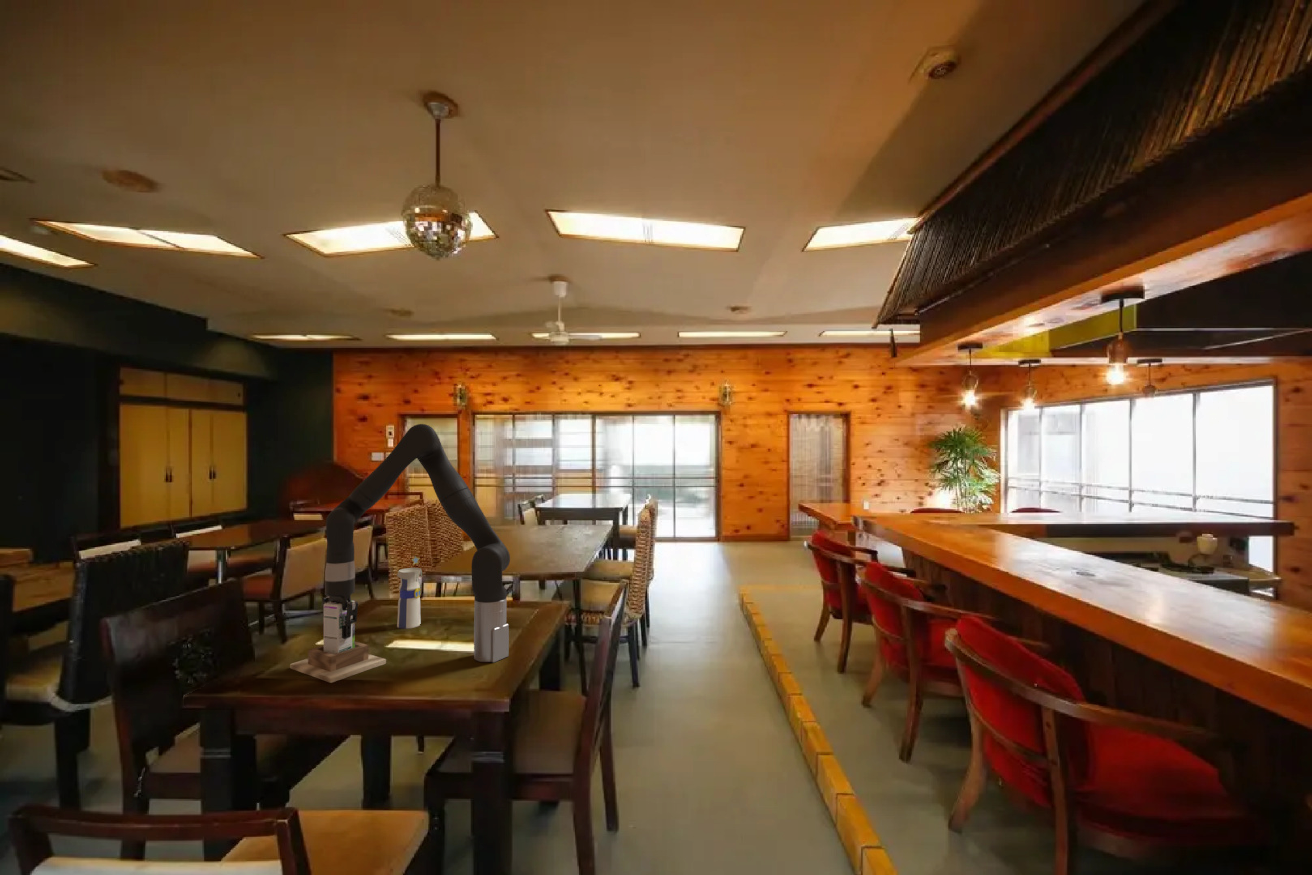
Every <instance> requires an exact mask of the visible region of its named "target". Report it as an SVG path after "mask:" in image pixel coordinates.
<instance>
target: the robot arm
mask: <svg viewBox="0 0 1312 875" xmlns="http://www.w3.org/2000/svg"><path fill="white" fill-rule="evenodd" d="M416 459H417V460H418V462H419V463H420V464H421V466H422V467H423V469H424V470H425V471H426V473H427V474H428V477H429V479H430V482H431V484H432V488H433V490H434V493H435V495H436V497H437V500H438V501H439V504H440V505H441V507H442V508H443V510H444V512H445V513H446V516H448V518H449V519H450V520H451V521H452V522H453V523H454V524H455V525H456V526H457V527H458V528H460V530H462V531H463V532H464V533H465V534H466V535H467V536H468V537H469V539H470V540H471V541H472V543H473V545H474V546H475V549H476V551H475V552H474V554H473V556H472V559H471V588H472V592H473V595H474V608H473V610H474V616H473V617H474V622H473V659H474V660H475V661H477V662H480V663H481V662H482V663H496V662H498V661H500V660H503V659H506V658H507V657H509V648H510V647H509V646H510V644H509V641H510V640H509V638H510V636H509V635H510V632H509V631H510V630H509V629H510V627H509V626H510V625H509V623H507V595H508V593H507V591H508V590H507V588H506V587H505V586H504V584H503V572H504V571H505V570H506V569H507V568H508V567H509V565H510V562H511V556H510V552H509V550H508V548H507V546H506V545H505V543H504V542H503V540H501V539H500V537H499V536H498V534H497V533H496V532H495V531H494V529H493V527H492V526H491V524H490V523H489V521H488V519H487V518H486V516H485V514H484V512H483V510H482V509H481V507H480V506H479V504H478V502H477V500H476V498H475V496H474V495H473V493H472V491H471V490H470V488H469V486H468V484H467V483H466V481H465V480H464V479H463V477H462V476H461V475H460V473H459V472H458V471H457V470H456V469H455V468H454V466H453V465H452V463H451V462H450V460H449V458H448V456H447V454H446V452H445V450H444V448H443V445H442V442H441V440H440V437H439V435H438V434H437V432H436V431H435V429H434V428H433V427H432V426H430V425H429V424H426V423H425V424H424V423H418V424H415V425H412V426H411V427H410V428H409V429H408V430H407V431H406V433H405V434H404V435H403V436H402V437H401V439H400V441H399V442H398V443H397V444H396V446H395V447H394V448H393V450H391V451H390V453H389V454H388V456H387V457H385V459H384V460H383V461H382V462H381V463H380V464H379V465H378V466H377V467H376V468H375V469H374V470H373V471H372V472H371V473H370V474H369V475H368V476H367V477H366V478H364V480H362V482H361V483H359V484H358V485H357V486H356V487H355V489H354V490H353V491H352V492H351V493H350V494H349V495H348V496H347V497H346V498H345V499H344V500H343V501H342V502H340V503H339V504H338V505H336V507H335V508H334V509H332V510H331V511H330V513H329V514H328V515H327V517H326V521H325V523H326V524H325V531H326V542H327V546H326V559H325V560H326V561H325V562H326V564H325V572H324V573H325V574H324V595H325V597H322V600H321V602H322V604H321V605H322V618H323V619H324V604H326V603H333V602H336V603H335V604H339V603H340V604H342V609H343V610H347V613H346V614H342V612H341V613H340V618H342V625H343V626H342V638H343V639H346V638H349V637H351V624H352V623H355V624H356V623H357V620H358V612H359V611H358V608H359V602H358V601H355V602H351V600H352V599H351V596H352V594H354V593H355V591H356V590H355V589H356V565H355V564H356V563H355V543H354V534H355V533H354V531H355V530H354V528H355V523H356V522H357V521H358V520H359V519H360V518H361V517H362V516H363V515H364V514H365V513H366V512H367V511H369V510H370V509H371V508H373V507H374V506H375V505H376V503H378V502H379V501H380V500H381V499H382V498H383V497H384V496H385V495H386V494H387V493H388V491H389V490H390V489H391V488H392V486H394V484H395V483H396V481H397V480H398V478H399V477H400V476H401V475H402V473H403V472H404V471H405V469H406V468H407V467H408V466H409V465H410V464H412V463H413V462H414V461H415V460H416ZM352 615H353V619H352ZM345 617H346V621H345Z"/></svg>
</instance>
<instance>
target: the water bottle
mask: <svg viewBox="0 0 1312 875" xmlns="http://www.w3.org/2000/svg"><path fill="white" fill-rule="evenodd" d="M420 559H421V557H417V555H414V557H413V558H412V559H411V560H410V561H412V562H413V564H412V565H413V566H414V565H415V564H417V565H419V560H420ZM422 576H423V571H422V568H419V567H409V568H401V569H399V570H398V571H397V575H396V577H398V578H399V579H400V584H399V587H398V590H399V598H398V602H397V622H396V627H397V629H413V628H417V627H419V626H421V625H420V624H421V623H422V622H421V620H422V619H421V598H420V597H421V595H422V590H421V588H420V587H421V585H420V583H419V577H420V578H422Z"/></svg>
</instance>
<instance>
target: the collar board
mask: <svg viewBox="0 0 1312 875" xmlns="http://www.w3.org/2000/svg"><path fill="white" fill-rule="evenodd" d="M369 647H370V645H369V644H365V643H363V642H359V641H355V648H352V649H349V650H346V651H342V652H339V653H336V654H330V653H327V652H324V645H321V646H317V647H314V648H310V649H308V650H307V652H308V655H307V658H305V659H302V660H299V661H296V662H293V663H289V664H290V665H289V669H291V670H294V671H296V672H299V673H302V674H305V675H308V676H310V677H314V678H315V679H319V680H322V681H324V682H327V683H330V684H332V683H335V682H338V681H340V680H343V679H346V678H348V677H352V676H355V675H358V674H360V673H363V672H366V671H369V670H372V669H374V668H377V667H380V666H383V665H385V664H387V659H386V658H383V657H380V656H376V655H373V654H369V652H370V651H369V649H370V648H369Z"/></svg>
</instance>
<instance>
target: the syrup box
mask: <svg viewBox="0 0 1312 875" xmlns="http://www.w3.org/2000/svg"><path fill="white" fill-rule="evenodd" d="M351 602H356V601H355V600H353V599H351ZM335 603H336V602H333V603H326V604H324V618H323V646H324V652H327V653H330V654H336V653H339V652H342V651H346V650H349V649H352V648H355V640H356V636H355V634H356V632H355V631H356V629H355V628H356V625H355V624H356V622H355V623H352V624H351V637H349V638H346V639H343V638H342V626H343V625H342V618H340V613H341V612H342V614H346V613H347V610H343V609H342V604H340V603H339V604H335ZM352 619H353V615H352ZM345 621H346V617H345Z"/></svg>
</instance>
